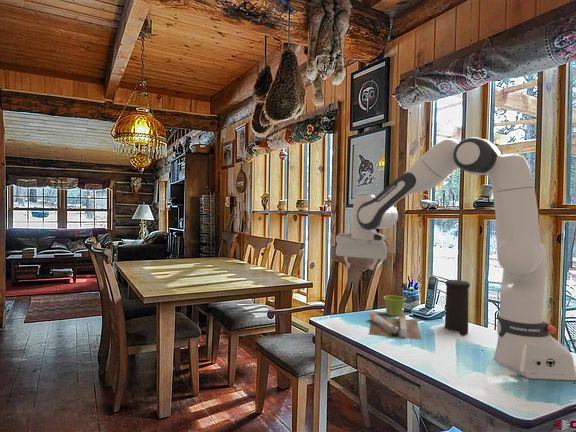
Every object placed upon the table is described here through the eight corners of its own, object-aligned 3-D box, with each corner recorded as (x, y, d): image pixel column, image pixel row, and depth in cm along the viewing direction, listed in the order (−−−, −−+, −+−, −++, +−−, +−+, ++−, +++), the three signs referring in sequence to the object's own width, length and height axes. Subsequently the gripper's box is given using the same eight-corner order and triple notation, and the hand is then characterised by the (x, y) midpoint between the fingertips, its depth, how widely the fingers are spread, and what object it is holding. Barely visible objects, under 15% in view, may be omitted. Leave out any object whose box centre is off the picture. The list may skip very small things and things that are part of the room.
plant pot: (380, 318, 165) (380, 298, 165) (386, 313, 173) (386, 294, 173) (402, 321, 160) (402, 301, 160) (407, 316, 168) (407, 297, 168)
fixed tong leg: (405, 321, 155) (405, 313, 155) (407, 337, 134) (407, 328, 134) (398, 320, 156) (399, 312, 156) (400, 337, 135) (400, 328, 135)
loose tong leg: (375, 319, 157) (375, 312, 157) (399, 336, 136) (399, 328, 136) (369, 319, 157) (369, 312, 157) (393, 336, 135) (393, 328, 135)
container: (473, 333, 146) (474, 281, 146) (460, 337, 141) (461, 283, 141) (452, 327, 153) (453, 277, 153) (439, 331, 148) (440, 279, 148)
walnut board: (416, 324, 157) (416, 320, 157) (421, 343, 133) (421, 339, 133) (372, 320, 162) (372, 316, 162) (368, 338, 138) (368, 334, 138)
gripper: (335, 233, 152) (333, 267, 153) (388, 237, 148) (386, 272, 149) (336, 232, 158) (334, 265, 159) (387, 235, 154) (385, 269, 155)
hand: (359, 268), depth 154 cm, fingers open, 8 cm apart
